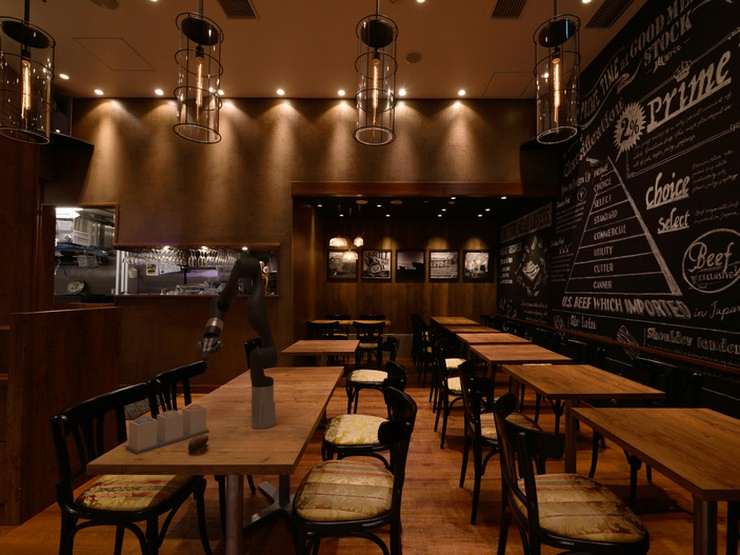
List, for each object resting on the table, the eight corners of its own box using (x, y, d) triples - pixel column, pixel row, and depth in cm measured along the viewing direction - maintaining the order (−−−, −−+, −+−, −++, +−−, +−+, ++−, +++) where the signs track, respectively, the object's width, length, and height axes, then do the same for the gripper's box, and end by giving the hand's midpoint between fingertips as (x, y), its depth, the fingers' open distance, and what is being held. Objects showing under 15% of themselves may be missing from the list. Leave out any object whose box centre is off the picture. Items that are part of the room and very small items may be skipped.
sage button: (178, 419, 155) (178, 411, 155) (167, 422, 151) (167, 414, 151) (172, 417, 158) (172, 409, 158) (161, 420, 154) (161, 412, 154)
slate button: (152, 426, 147) (152, 417, 147) (139, 429, 143) (139, 421, 143) (146, 423, 149) (146, 415, 150) (133, 427, 146) (133, 418, 146)
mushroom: (217, 438, 147) (206, 426, 145) (210, 454, 139) (198, 442, 137) (200, 447, 148) (189, 435, 146) (191, 463, 140) (180, 452, 138)
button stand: (209, 432, 163) (209, 407, 163) (136, 454, 140) (137, 425, 140) (197, 428, 168) (197, 404, 168) (125, 449, 145) (126, 421, 146)
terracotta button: (202, 413, 163) (202, 405, 163) (191, 415, 159) (192, 408, 159) (196, 411, 166) (196, 404, 166) (185, 413, 162) (185, 406, 162)
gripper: (197, 324, 185) (186, 355, 172) (226, 324, 186) (217, 354, 173) (201, 335, 190) (191, 365, 177) (229, 334, 191) (221, 364, 178)
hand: (204, 360), depth 175 cm, fingers closed
